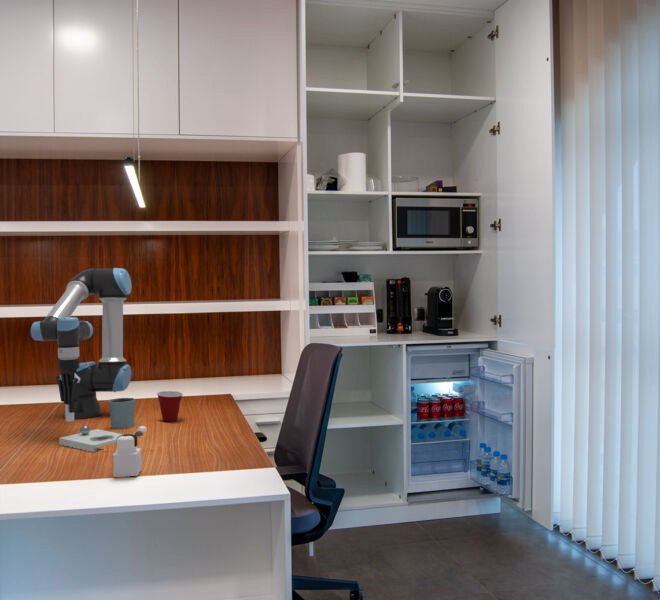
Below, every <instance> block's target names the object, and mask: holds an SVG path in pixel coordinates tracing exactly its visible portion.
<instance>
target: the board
mask: <svg viewBox="0 0 660 600" xmlns="http://www.w3.org/2000/svg"><path fill="white" fill-rule="evenodd" d="M120 435H124V433H120V432H113V431H109V430H108V431H107V430H102V429H98V428H97V429H92V430H91V429H90V432H89V433H88V434H87V435H83V434H81V432H78V433H75V434H71V435H66V436H62V437H59V438H58V443H59V444H60V446H63V445H64V446H63V447H67V446H69V448H72V447H73V449H76V448H77V450H80V449H82V450H81V451H85V450H86V451H85V452H89V451H91V452H90V453H96V451H97V452H101V451H104V449H103V448H101V447H104V446H108V445H112V444H115V443H116V444H117V437H118V436H120ZM59 444H58V445H59ZM100 450H101V451H100Z"/></svg>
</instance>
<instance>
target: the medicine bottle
mask: <svg viewBox="0 0 660 600" xmlns="http://www.w3.org/2000/svg"><path fill="white" fill-rule="evenodd" d="M123 434H124V433H123ZM142 463H143V462H142V448H141V447H138V436H136V435H135V434H133V433H125V434H124V435H120V436H118V437H117V442H116V451H115V452H114V453H113V454H112V472H113V473H112V477H113V476H134V475H138V474H139V475H140V473H141V472H142V470H143V468H142V466H143V465H142ZM140 471H141V472H140ZM139 472H140V473H139ZM139 475H138V476H139Z"/></svg>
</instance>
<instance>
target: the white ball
mask: <svg viewBox="0 0 660 600" xmlns="http://www.w3.org/2000/svg"><path fill="white" fill-rule="evenodd" d="M137 431H141V432H142V433H146V432H148V429H147V427H146V426H145V425H140V426H138V428H137Z"/></svg>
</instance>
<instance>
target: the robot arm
mask: <svg viewBox="0 0 660 600" xmlns="http://www.w3.org/2000/svg"><path fill="white" fill-rule="evenodd" d="M132 286H133V285H132V279H131V276H130V274H129V272H128V270H126V269H125V268H119V267H111V268H110V267H109V268H108V267H107V268H106V267H105V268H96V267H95V268H89V269H86V270H83V271H81V272H79V273H77V274H76V275H75V276H74V277H72V279H70V280H69V281H68V283H67V285H66V287H65V291H64V292H63V294H62V295H61V296H60V298H59V299H58V301H57V302H56V303H55V305H54V306H53V307H52V309H51V310H50V311H49V313H48V314H47V315H46V317H45V318H44V319H43V320H39V321H34V322H33V323H32V325H31V327H30V336H31V338H32V339H33V340H34V341H36V342H37V341H39V342H49V341H50V342H51V341H54V342H55V341H56V342H57V358H58V360H57V369H58V370H60V374H59V375H57V376H56V377H55V378H56V381H57V384H58V386H57V387H58V391H59V397H60V402H61V403H62V402H63V404H64V411H63V416H64V418H65V422H67V423H69V422H75V420H76V419H77V420H78V419H81V420H82V419H88V418H95V417H98V416H101V414H102V410H101V409H102V408H101V407H100V404H99V401H98V398H97V392H98V393H101V392H109V393H112V392H113V393H116V392H124V391H126V390H127V388H128V387H129V386H130V383H131V380H132V369H131V366H130V365H129V364H127V360H126V358H124V354H123V353H124V351H123V350H124V302H125V301H126V300H127V299H128V298H127V297H128V296H129V295H130V294H131V293H132V288H133V287H132ZM93 295H95V296H96V295H97V296H98V300H100V301H101V303H102V320H101V321H102V322H101V325H102V326H101V327H102V332H101V333H102V349H101V352H102V354H101V355H102V356H101V357H100V359H99V360H98V364H97V363H96V362H95V361H86V362H80V359H79V358H80V341H85V340H86V341H87V340H88V339H90V338H91V337H92V336H93V334H94V327H93V325H92V324H91V322H89V321H86V320H79V318H78V317H76V316H73V317H72V315H73V313H74V312H75V310H76V309H77V307H78V306H79V305H80V303H81V302H82V301H84V300H86V299H87V298H88V296H93Z"/></svg>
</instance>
